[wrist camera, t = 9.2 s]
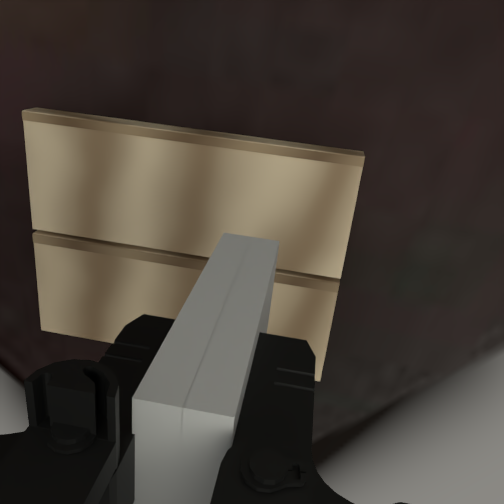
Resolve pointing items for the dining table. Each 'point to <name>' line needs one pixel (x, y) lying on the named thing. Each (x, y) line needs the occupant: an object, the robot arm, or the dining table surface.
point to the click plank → (189, 187)
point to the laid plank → (157, 290)
